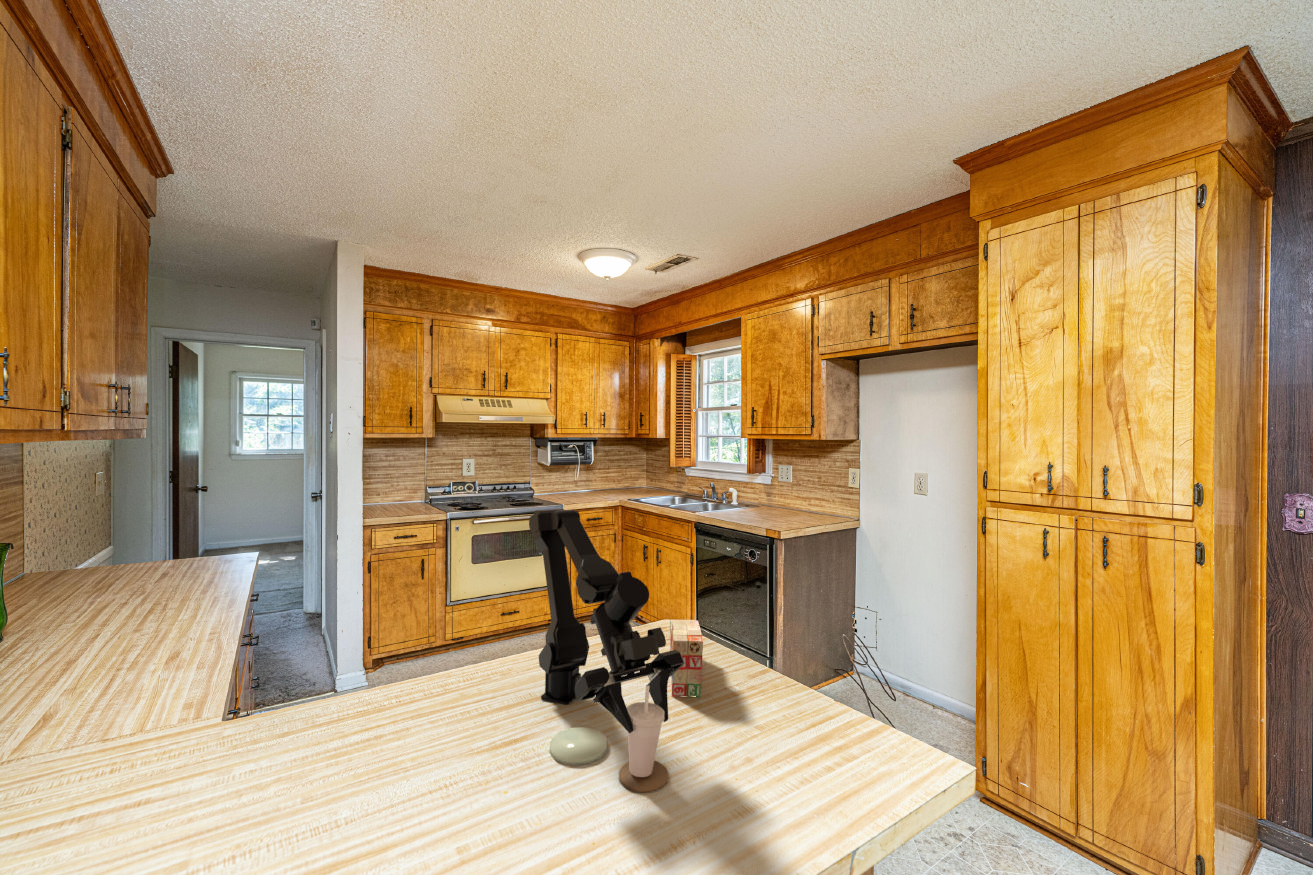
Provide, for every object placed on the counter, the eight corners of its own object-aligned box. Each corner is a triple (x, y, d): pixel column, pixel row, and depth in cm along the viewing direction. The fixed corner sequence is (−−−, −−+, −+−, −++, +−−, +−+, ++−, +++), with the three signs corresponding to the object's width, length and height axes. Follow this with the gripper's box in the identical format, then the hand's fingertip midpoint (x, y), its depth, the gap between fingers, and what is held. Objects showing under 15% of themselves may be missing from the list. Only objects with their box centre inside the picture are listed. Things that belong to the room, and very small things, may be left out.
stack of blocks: (669, 656, 142) (670, 606, 142) (694, 656, 142) (696, 607, 142) (671, 697, 121) (673, 639, 121) (701, 698, 121) (703, 640, 121)
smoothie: (623, 782, 90) (629, 692, 90) (619, 759, 96) (625, 675, 96) (663, 781, 91) (670, 692, 91) (657, 758, 97) (663, 675, 97)
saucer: (538, 757, 98) (538, 751, 98) (566, 728, 107) (566, 722, 107) (591, 770, 95) (592, 764, 95) (616, 739, 104) (616, 733, 104)
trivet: (610, 785, 91) (611, 781, 91) (629, 758, 98) (629, 754, 98) (658, 797, 88) (658, 793, 88) (674, 768, 96) (674, 765, 96)
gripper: (584, 622, 91) (617, 723, 82) (680, 604, 101) (718, 692, 92) (562, 653, 98) (590, 749, 89) (654, 633, 108) (687, 718, 99)
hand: (649, 726), depth 92 cm, fingers closed on smoothie, 6 cm apart
